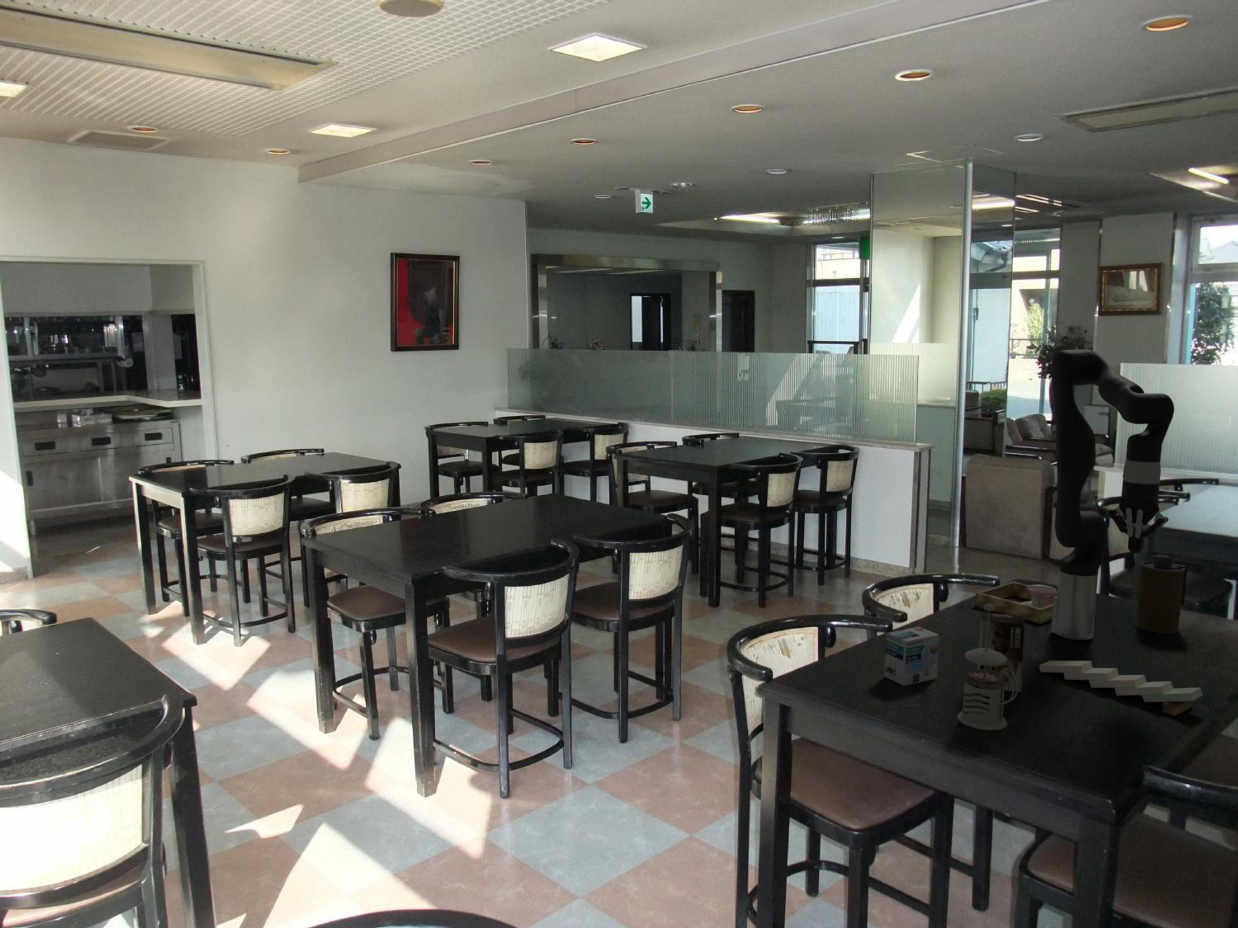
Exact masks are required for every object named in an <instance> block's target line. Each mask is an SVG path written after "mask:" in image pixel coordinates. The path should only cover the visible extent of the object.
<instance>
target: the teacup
mask: <svg viewBox="0 0 1238 928" xmlns="http://www.w3.org/2000/svg"><path fill="white" fill-rule="evenodd" d="M1027 590H1028V591H1029V592H1030V596H1031V600H1029V601H1022V602H1021V603H1022V604H1026V605H1027V604H1028V605H1031V606H1034V607H1038V608H1042V607H1045V606H1048V605H1051V599H1052V598H1053V595H1054V594H1056V592H1057V589H1056V588H1055V587H1053V586H1050V585H1046V584H1045V585H1044V584H1031V585H1030V586H1028V587H1027Z"/></svg>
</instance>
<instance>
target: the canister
mask: <svg viewBox="0 0 1238 928" xmlns="http://www.w3.org/2000/svg"><path fill="white" fill-rule="evenodd" d="M1151 557H1152V558H1153V560H1145V561H1142V562H1140V564H1139V565H1140V566H1141V567H1140V577H1139V588H1138V589H1139V590H1138V600H1137V611H1136V620H1135V621H1136V622H1135V623H1134V625H1135V626H1136V627H1137V628H1138V629H1140V630H1143V631H1145V630H1146V632H1149V631H1150V632H1149V633H1153V632H1155V633H1154V634H1160V633H1163V634H1162V635H1173V633H1174V634H1178V633H1179V632H1180V619H1181V617H1180V616H1181V609H1182V608H1181V607H1185V595H1186V587H1187V576H1188V575H1187V573H1188V567H1187V566H1186V565H1185V564H1177V563H1173V561H1172V559H1173V558H1172V557H1170V556H1169V555H1167V554H1160V555H1159V554H1154V555H1151ZM1178 631H1179V632H1178ZM1177 632H1178V633H1177Z"/></svg>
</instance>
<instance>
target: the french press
mask: <svg viewBox="0 0 1238 928" xmlns="http://www.w3.org/2000/svg"><path fill="white" fill-rule="evenodd" d="M983 609H984V610H985V611H987V613H988V623H987V638H986V648H979V647H978V648H974V649H970V650H968V651H966V652H965V653H964V656H965V658H966V660H967V661H969V662H971V663H974V664H976V665H979V664H980V665H985V669H983V670H981V669H978V668H975V669H974V668H973V669H970V670H968V671H967V672H966V673H965V674H966V677H965V678H964V684H963V685H964V687H963V699H962V701H963V703H962V704H963V705H962V710H961V711H960V712H959V713H958V714H957V716H956V717H957V720H958V721H959V722H961V723H962V724H964V725H966V726H968V727H970V728H974V729H978V730H986V731H998V730H1002V729H1004V728H1006V727H1007V726H1008V722H1007V719H1005V717H1004V707H1005V706H1004V705H1005V704H1008V703H1009V702H1012V701H1014V700H1015V698H1016V697H1017V695H1018V693H1019V692H1018V681H1017V679H1016V676H1015V675H1014V674H1013V672H1012V671H1011V670H1009V669H1008V668H1005V670H1001V675H1000V674H998V673H995V672H994V671H993V672H992V671H989V670H986V666H999V665H1003V664H1004V663H1005V662H1006V661H1007V658H1006V657H1005V656H1004V655H1002V654H1001V653H1000V652H997V651H994V650H992V649H989V648H987V640H988V624H989V613H990V612H994V611H993V610H994V607H993V605H991V604H986V605H985V607H984V608H983ZM1006 669H1007V670H1009V671H1010V672H1011V673H1012V674H1013V676H1014V678H1015V680H1016V683H1017V690H1016V692H1014V684H1013V681H1012V679H1011V677H1010V676H1009V674H1008V673H1007V672H1006ZM1002 671H1004V674H1005V673H1006V674H1007V675H1008V676H1009V678H1010V679H1011V682H1012V685H1013V691H1012V694H1011V697H1010V698H1009V699H1008V700H1004V699H1005V690H1004V683H1003V682H1001V681H1002V680H1003V675H1004V674H1002ZM988 684H998V685H999V686H1000V687H1001V688H1002V690H1001V689H999V688H998V687H993V686H992V687H987V688H979V687H977V686H982V685H988ZM974 686H976V687H974ZM1014 694H1015V695H1014ZM986 697H988V698H986ZM986 703H988V704H986Z"/></svg>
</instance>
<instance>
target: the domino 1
mask: <svg viewBox="0 0 1238 928" xmlns="http://www.w3.org/2000/svg"><path fill="white" fill-rule="evenodd" d="M1038 666H1039V670H1040V673H1063V674H1064V673H1083V672H1085V671H1087V670H1089V669H1092V668H1094V667H1093V663H1092V660H1048V661H1046V662H1044V663H1041V664H1039V665H1038Z"/></svg>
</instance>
